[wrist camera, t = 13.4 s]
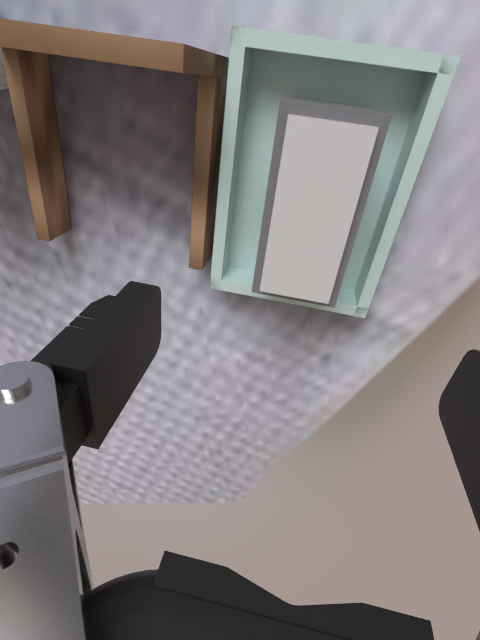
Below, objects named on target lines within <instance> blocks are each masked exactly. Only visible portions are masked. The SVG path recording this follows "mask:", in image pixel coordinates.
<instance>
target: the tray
mask: <svg viewBox="0 0 480 640" xmlns="http://www.w3.org/2000/svg"><path fill="white" fill-rule="evenodd" d="M460 58H461V56H457V55H450V54H442V53H435V52H427V51H420V50H412V49H405V48H397V47H390V46H382V45H375V44H367V43H360V42H352V41H344V40H337V39H329V38H322V37H314V36H307V35H299V34H292V33H284V32H277V31H269V30H262V29H254V28H247V27H239V26H232V31H231V43H230V55H229V66H228V78H227V90H226V102H225V114H224V125H223V137H222V149H221V161H220V173H219V184H218V196H217V208H216V220H215V232H214V243H213V255H212V267H211V279H210V288H212V289H217V290H222V291H227V292H232V293H238V294H243V295H248V296H253V297H258V298H263V299H268V300H274V301H279V302H284V303H289V304H294V305H299V306H304V307H310V308H315V309H320V310H325V311H330V312H335V313H340V314H346V315H351V316H356V317H361V318H365V317H366V314H367V311H368V308H369V306H370V303H371V300H372V298H373V295H374V292H375V289H376V287H377V284H378V281H379V278H380V276H381V273H382V270H383V268H384V265H385V262H386V259H387V257H388V254H389V251H390V248H391V246H392V243H393V240H394V238H395V235H396V232H397V229H398V227H399V224H400V221H401V218H402V216H403V213H404V210H405V208H406V205H407V202H408V199H409V197H410V194H411V191H412V188H413V186H414V183H415V180H416V178H417V175H418V172H419V169H420V167H421V164H422V161H423V158H424V156H425V153H426V150H427V148H428V145H429V142H430V139H431V137H432V134H433V131H434V128H435V126H436V123H437V120H438V118H439V115H440V112H441V109H442V107H443V104H444V101H445V98H446V96H447V93H448V90H449V88H450V85H451V82H452V79H453V77H454V74H455V71H456V68H457V66H458V63H459V60H460ZM289 96H291V97H299V98H306V99H313V100H320V101H327V102H334V103H342V104H349V105H356V106H363V107H370V108H374V109H377V110H379V111H382V112H384V113H387V114H389V115H392V118H391V121H390V125H389V128H388V131H387V135H386V138H385V141H384V145H383V148H382V151H381V155H380V158H379V161H378V165H377V168H376V171H375V175H374V178H373V181H372V185H371V188H370V191H369V195H368V198H367V201H366V205H365V208H364V211H363V215H362V218H361V221H360V225H359V228H358V232H357V235H356V238H355V242H354V245H353V248H352V252H351V255H350V258H349V262H348V265H347V268H346V272H345V275H344V278H343V282H342V285H341V288H340V292H339V295H338V298H337V302H336V305H335V308H333V307H328V306H322V305H317V304H312V303H306V302H301V301H296V300H290V299H285V298H280V297H274V296H269V295H264V294H258V293H253V292H252V285H253V278H254V272H255V265H256V258H257V251H258V245H259V238H260V231H261V225H262V218H263V211H264V205H265V198H266V191H267V184H268V178H269V171H270V164H271V158H272V151H273V144H274V138H275V131H276V124H277V117H278V111H279V104H280V100H281V99H284V98H287V97H289Z"/></svg>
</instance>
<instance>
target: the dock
mask: <svg viewBox="0 0 480 640" xmlns="http://www.w3.org/2000/svg"><path fill="white" fill-rule="evenodd" d="M0 47H1V50H2V55H3V61H4V66H5V71H6V76H7V81H8V87H9V92H10V97H11V102H12V108H13V113H14V118H15V123H16V129H17V134H18V139H19V144H20V149H21V155H22V160H23V165H24V170H25V176H26V181H27V186H28V191H29V197H30V202H31V207H32V212H33V218H34V223H35V228H36V233H37V238H38V239H41V240H46V241H51V240H53V239H54V238H56V237H58V236H60V235H61V234H63V233H65V232H67V231H68V230H70V229H72V228H71V220H70V213H69V206H68V198H67V191H66V183H65V176H64V169H63V161H62V154H61V147H60V139H59V132H58V125H57V117H56V110H55V102H54V95H53V88H52V80H51V73H50V66H49V58H48V54H54V55H61V56H68V57H75V58H82V59H89V60H96V61H102V62H109V63H116V64H123V65H130V66H137V67H144V68H151V69H157V70H164V71H171V72H178V73H186V74H197V75H198V91H197V111H196V132H195V153H194V174H193V195H192V216H191V236H190V257H189V268H193V269H198V270H203V268H204V266H205V265H206V263H207V262H208V260H209V259H210V257H211V255H212V247H213V236H214V224H215V212H216V200H217V188H218V176H219V164H220V152H221V140H222V128H223V116H224V104H225V92H226V80H227V68H228V58H227V57H224V56H221V55H217V54H214V53H211V52H208V51H205V50H201V49H198V48H195V47H192V46H189V45H185V44H181V43H173V42H166V41H159V40H152V39H144V38H137V37H130V36H123V35H116V34H108V33H101V32H94V31H87V30H79V29H72V28H65V27H58V26H51V25H43V24H36V23H29V22H22V21H15V20H7V19H0Z"/></svg>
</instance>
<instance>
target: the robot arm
mask: <svg viewBox="0 0 480 640" xmlns="http://www.w3.org/2000/svg"><path fill="white" fill-rule="evenodd" d="M160 340H161V290H160V288H159V287H158V286H154V285H149V284H144V283H139V282H134V281H130V282H129V283H128V284H127V285H126V286H125V287H124V288H123V289H122V290H121V291H120V292H119V293H118V294H117V295H116V296H111V295H108V296H105V297H103V298H101V299H99V300H97V301H95V302H93V303H91V304H90V305H89V306H88V307H87V308H86V309H84V310H83V311H82V312H81V313H80V314H79V317H76V318H75V319H74V320H73V321H72V322H71V323H70V324H69V327H68V326H67V327H66V328H65V329H64V330H63V331H61V332H60V333H59V334H58V335H57V336H56V337H55V338H54V339H53V340H52V341H51V342H50V343H49V344H48V345H47V346H46V347H45V348H44V349H43V350H42V351H41V352H40V353H39V354H37V355H36V356H35V357H34V358H33V359H32V360H31V361H19V362H12V363H8V364H4V365H1V366H0V640H434V637H433V631H432V626H431V621H429V620H425V619H422V618H417V617H414V616H410V615H406V614H402V613H399V612H395V611H391V610H388V609H384V608H380V607H376V606H372V605H369V604H365V603H346V604H324V605H304V606H297V605H291V604H289V603H286V602H284V601H283V600H281V599H279V598H278V597H276V596H274V595H273V594H271V593H269V592H268V591H266V590H264V589H263V588H261V587H259V586H258V585H256V584H254V583H253V582H251V581H249V580H248V579H246V578H244V577H243V576H241V575H239V574H237V573H236V572H234V571H233V570H231V569H229V568H228V567H225V566H221V565H217V564H213V563H209V562H205V561H202V560H198V559H195V558H190V557H187V556H183V555H179V554H176V553H172V552H168V551H164V555H163V557H162V560H161V563H160V566H159V569H158V570H145V571H140V572H134V573H130V574H127V575H124V576H121V577H118V578H115V579H113V580H111V581H108V582H106V583H104V584H102V585H100V586H98V587H96V588H95V589H94V588H93V581H92V575H91V570H90V565H89V559H88V553H87V548H86V542H85V536H84V530H83V523H82V517H81V511H80V503H79V497H78V490H77V484H76V477H75V470H74V464H73V459H72V458H73V457H74V455H75V454H76V452H77V451H78V449H79V448H80V446H81V445H83V446H87V447H91V448H95V449H99V447H100V445H101V444H102V442H103V441H104V439H105V437H106V436H107V434H108V432H109V431H110V429H111V427H112V426H113V424H114V423H115V421H116V419H117V418H118V416H119V414H120V413H121V411H122V409H123V408H124V406H125V404H126V403H127V401H128V400H129V398H130V396H131V395H132V393H133V391H134V390H135V388H136V386H137V385H138V383H139V382H140V380H141V378H142V377H143V375H144V373H145V372H146V370H147V368H148V367H149V365H150V363H151V362H152V360H153V359H154V357H155V355H156V353H157V351H158V348H159V344H160ZM439 416H440V420H441V422H442V425H443V428H444V431H445V434H446V437H447V440H448V442H449V445H450V448H451V451H452V454H453V456H454V460H455V462H456V465H457V468H458V471H459V473H460V476H461V479H462V482H463V485H464V488H465V491H466V494H467V497H468V500H469V502H470V505H471V508H472V511H473V514H474V517H475V519H476V522H477V525H478V528H479V531H480V351H479V350H470V351H468V352H467V353H466V354H465V356H464V357H463V359H462V361H461V362H460V364H459V366H458V367H457V369H456V371H455V372H454V374H453V376H452V377H451V379H450V381H449V383H448V384H447V386H446V388H445V389H444V391H443V393H442V395H441V398H440V402H439ZM476 640H480V631H479V634H478V636H477V638H476Z"/></svg>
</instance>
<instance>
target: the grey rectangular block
mask: <svg viewBox="0 0 480 640" xmlns="http://www.w3.org/2000/svg"><path fill="white" fill-rule="evenodd" d="M391 118H392V115H389V114H387V113H384V112H382V111H379V110H377V109H374V108H370V107H363V106H356V105H349V104H342V103H334V102H327V101H320V100H313V99H306V98H299V97H291V96H289V97H287V98H284V99H281V100H280V104H279V111H278V117H277V124H276V131H275V138H274V144H273V151H272V158H271V164H270V171H269V178H268V184H267V191H266V198H265V205H264V211H263V218H262V225H261V231H260V238H259V245H258V251H257V258H256V265H255V272H254V278H253V285H252V292H253V293H258V294H264V295H269V296H274V297H280V298H285V299H290V300H296V301H301V302H306V303H312V304H317V305H322V306H328V307H333V308H335V305H336V302H337V298H338V295H339V292H340V288H341V285H342V282H343V278H344V275H345V272H346V268H347V265H348V262H349V258H350V255H351V252H352V248H353V245H354V242H355V238H356V235H357V232H358V228H359V225H360V221H361V218H362V215H363V211H364V208H365V205H366V201H367V198H368V195H369V191H370V188H371V185H372V181H373V178H374V175H375V171H376V168H377V165H378V161H379V158H380V155H381V151H382V148H383V145H384V141H385V138H386V135H387V131H388V128H389V125H390V121H391Z"/></svg>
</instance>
